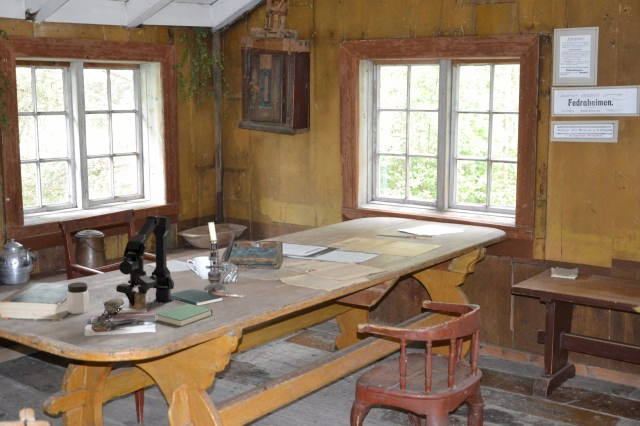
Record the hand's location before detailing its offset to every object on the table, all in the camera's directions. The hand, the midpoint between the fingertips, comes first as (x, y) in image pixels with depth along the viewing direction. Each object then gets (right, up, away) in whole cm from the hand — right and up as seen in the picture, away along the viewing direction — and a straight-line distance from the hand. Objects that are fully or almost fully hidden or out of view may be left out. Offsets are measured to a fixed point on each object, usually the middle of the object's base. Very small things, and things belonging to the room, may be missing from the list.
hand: (137, 304), depth 351 cm
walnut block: (0, -1, 0) cm, 1 cm away
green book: (+20, -6, +2) cm, 21 cm away
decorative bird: (-12, -5, +6) cm, 14 cm away
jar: (-28, -4, +8) cm, 29 cm away
